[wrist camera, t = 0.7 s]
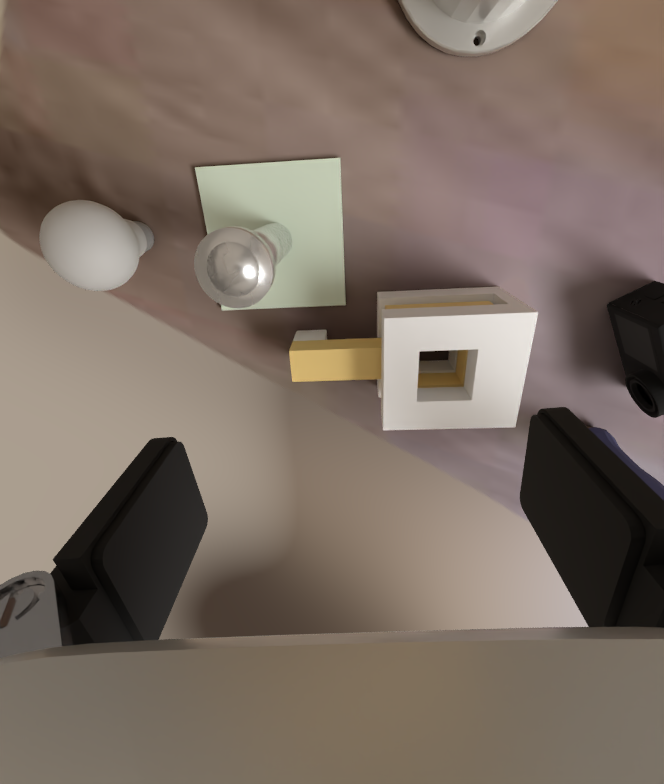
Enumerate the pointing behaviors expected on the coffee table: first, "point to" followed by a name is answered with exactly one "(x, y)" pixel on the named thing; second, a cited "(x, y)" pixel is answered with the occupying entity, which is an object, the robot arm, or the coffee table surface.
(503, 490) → the coffee table surface
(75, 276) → the lightbulb
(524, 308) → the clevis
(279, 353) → the coffee table surface
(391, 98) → the coffee table surface
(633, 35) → the coffee table surface
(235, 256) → the steel pin
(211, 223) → the pin mat
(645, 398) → the digital camera
